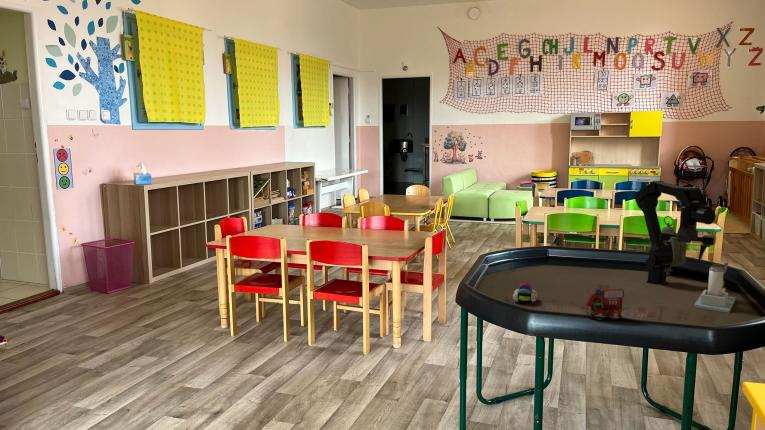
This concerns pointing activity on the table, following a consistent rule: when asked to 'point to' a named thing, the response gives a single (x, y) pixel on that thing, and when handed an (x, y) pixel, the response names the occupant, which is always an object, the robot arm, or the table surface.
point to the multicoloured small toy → (525, 292)
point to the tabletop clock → (678, 247)
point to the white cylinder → (715, 281)
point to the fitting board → (715, 302)
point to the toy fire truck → (605, 302)
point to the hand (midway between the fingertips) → (685, 259)
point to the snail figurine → (721, 267)
